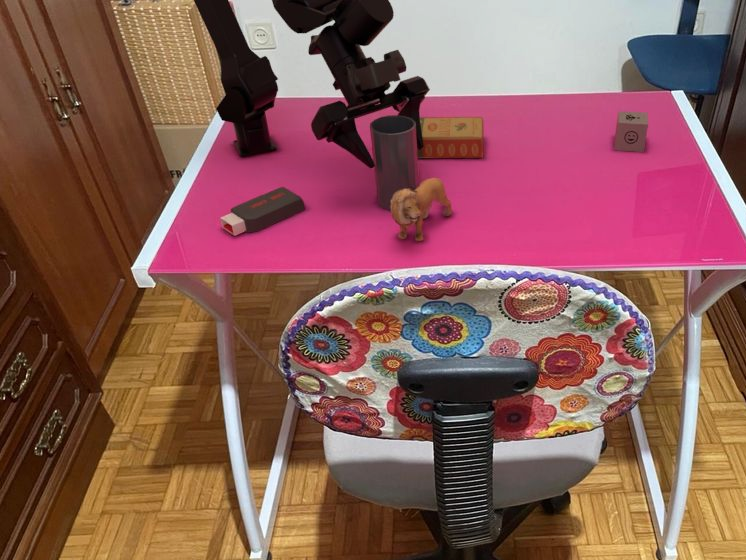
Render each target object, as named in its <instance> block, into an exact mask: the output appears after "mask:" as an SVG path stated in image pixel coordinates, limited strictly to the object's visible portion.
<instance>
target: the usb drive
mask: <svg viewBox="0 0 746 560" xmlns="http://www.w3.org/2000/svg"><path fill="white" fill-rule="evenodd" d="M305 210H306V205H305V202H304V199H303V198H302V197H301V196H300V195H298V194H296V193H295V192H294V191H292V190H290V189H289V188H286V187H284V186H281V187H278V188H275V189H272V190H270V191H268V192H265V193H264V194H261V195H259V196H256V197H254V198H252V199H250V200H247V201H244V202H242V203H240V204H237V205H235V206H233V207H231V208H230V213H228V214H226V215H224V216H221V217H220V218H219V219H220V223H221V226H222V229H224V230H225V231H227V232H228V233H229V234H231V235H233V236H234V237H236V236H238V235H240V234H242V233H245V232H246V233H247V234H250V233H255V232H260V231H261V230H264V229H266V228H268V227H271V226H272V225H275V224H277V223H279V222H281V221H284V220H285V219H288V218H290V217H293V216H294V215H297V214H299V213H301V212H303V211H305Z"/></svg>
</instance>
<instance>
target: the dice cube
mask: <svg viewBox="0 0 746 560" xmlns="http://www.w3.org/2000/svg"><path fill="white" fill-rule="evenodd" d="M648 116H649V115H648V112H641V111H640V112H639V111H625V110H624V111H623V110H618V111H617V118H616V127H615V132H614V133H615V134H614V151H620V152H623V151H624V152H638V153H644V152H645V146H646V139H647V135H648V129H649V128H648V127H649V117H648Z"/></svg>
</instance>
